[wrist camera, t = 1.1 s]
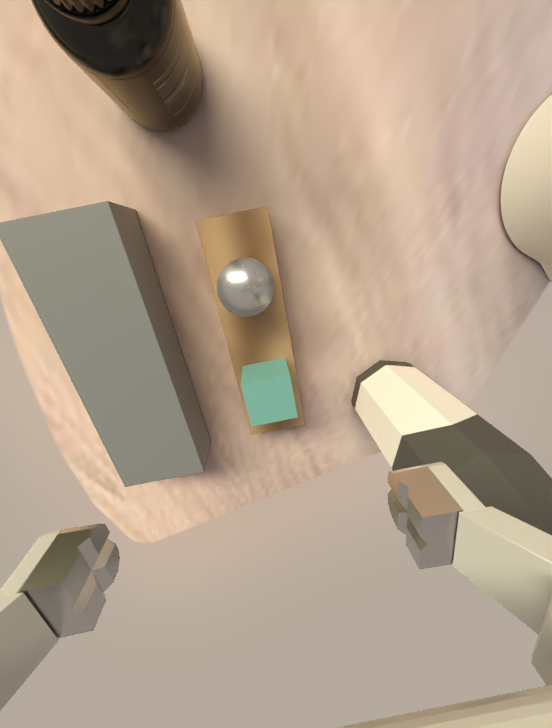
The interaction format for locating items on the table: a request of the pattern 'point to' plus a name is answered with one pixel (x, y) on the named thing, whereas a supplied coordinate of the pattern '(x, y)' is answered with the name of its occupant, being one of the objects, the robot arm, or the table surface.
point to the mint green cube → (268, 392)
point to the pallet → (270, 327)
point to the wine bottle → (450, 441)
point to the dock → (113, 335)
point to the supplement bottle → (132, 54)
